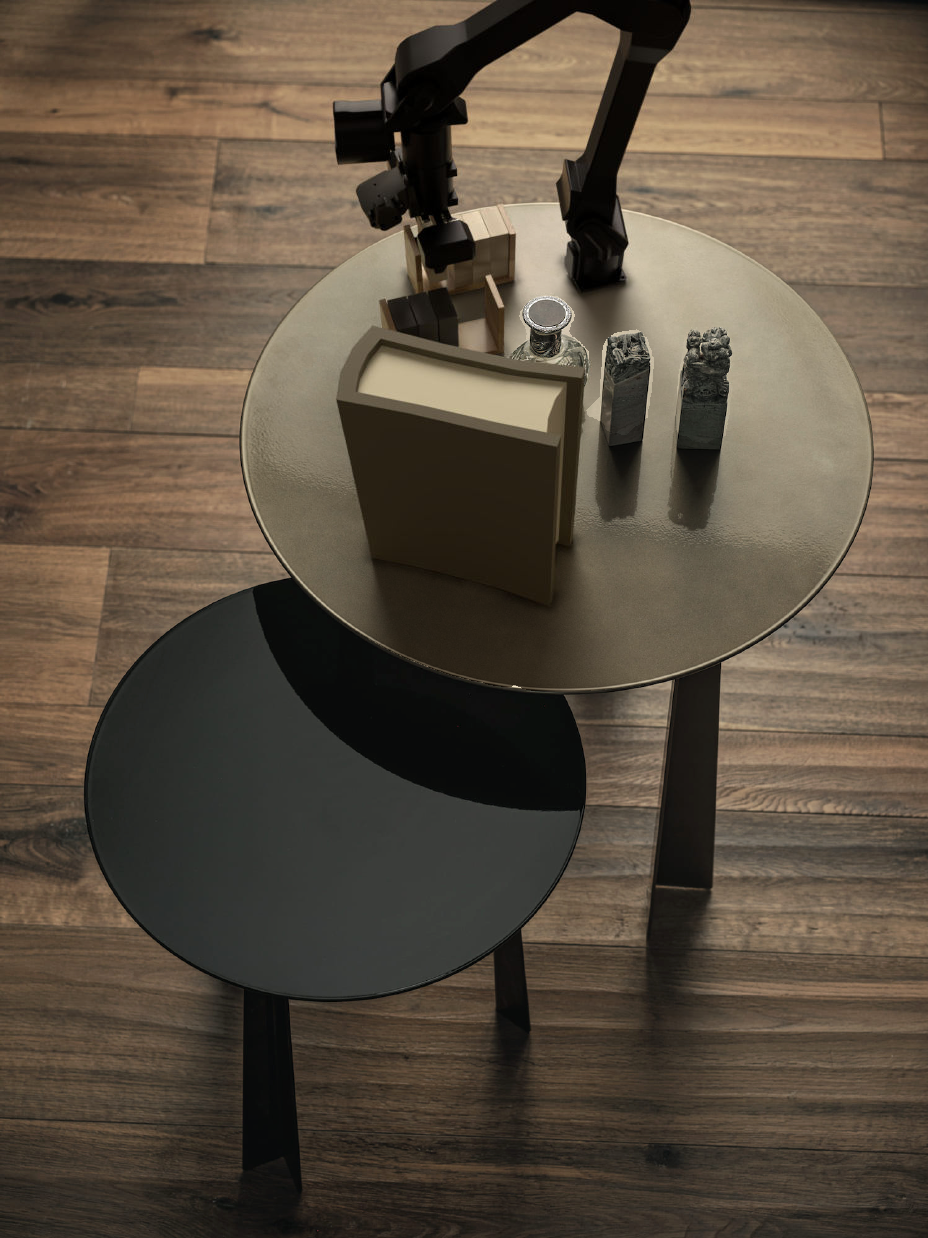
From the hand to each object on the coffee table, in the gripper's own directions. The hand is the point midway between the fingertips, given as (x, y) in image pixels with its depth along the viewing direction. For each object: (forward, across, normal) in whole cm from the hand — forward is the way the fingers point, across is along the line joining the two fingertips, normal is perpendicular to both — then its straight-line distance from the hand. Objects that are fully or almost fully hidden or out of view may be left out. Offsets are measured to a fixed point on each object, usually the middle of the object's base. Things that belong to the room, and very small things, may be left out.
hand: (433, 257), depth 139 cm
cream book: (+2, 0, 0) cm, 2 cm away
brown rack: (+4, 0, +4) cm, 5 cm away
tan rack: (+4, +11, -2) cm, 12 cm away
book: (+4, +40, -8) cm, 41 cm away
